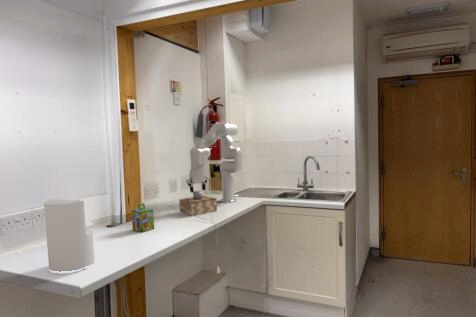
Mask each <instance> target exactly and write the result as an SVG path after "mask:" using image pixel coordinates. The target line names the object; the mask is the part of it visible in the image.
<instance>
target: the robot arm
mask: <svg viewBox="0 0 476 317" xmlns="http://www.w3.org/2000/svg"><path fill="white" fill-rule="evenodd" d="M238 131H239V128H238V126H237V125H236V124H232V123H227V122H226V123H224V122H223V123H214V124H212V125H211V127H210V128H209V130H208V132H207V134H206V135H205V136H203V137H202V138H200V139H199V140H197V141H196V142H195V143H194V145H193V146H192V148H191V149H190V151H189V158H190V169H189V174H188V175H189V177H188V179H187V180H186V181H185V182H186V185H187V186H189V192H190V193H193V192H194V191H195V190H194V185H195V184H201V191H206V189H207V188H206V185H207V183H208V180H209V178H208V177H207V176H205V171H204V169H203V168H204V167H203V166H204V164H203V163H202V162H203V161H202V160H203V159H207V158H209V157H210V156H211V150H210V148H208V147H210V146H212V145H214V144H215V143H216V142H217V141H218V139H219V138H220V139H221V142H222V143H221V144H222V146H221V147H222V148H221V149H222V150H221V152H222V153H221V156H222V159H224V161H221V163H220V164H219V170H220V177H221V195H222V198H221V199H220V202H221V203H232V202H237V198H239V197H240V195H239V194H235V181H234V180H235V178H234V176H233V174H240V173H241V172H242V167H243V153H242V149H241V148H240V147H238V146H234V139H233V138H232V136H233V137H234V136H236V135H237V134H238Z"/></svg>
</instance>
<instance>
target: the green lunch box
mask: <svg viewBox="0 0 476 317" xmlns="http://www.w3.org/2000/svg"><path fill="white" fill-rule="evenodd" d="M141 207H142V208H141ZM130 212H131V227H132V231H133V232H141V233H144V232H148V231H150V230H151V231H152V230H155V216H154V214H155V212H154V209H151V208H147V207H146V206H145V203H140V204H137V209H132V210H130Z"/></svg>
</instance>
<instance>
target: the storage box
mask: <svg viewBox="0 0 476 317" xmlns="http://www.w3.org/2000/svg"><path fill="white" fill-rule="evenodd" d="M178 201H179V200H178ZM178 203H179V213H181V214H184V215H188V216H191V217H194V216H199V215H200V216H201V215H205V214H210V213H213V212H217V211H218V206H217V205H218V204H217V199H216V200H211V201H206V202H200V203H195V204H190V203H186V202H182V201H179V202H178Z"/></svg>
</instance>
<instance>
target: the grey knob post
mask: <svg viewBox="0 0 476 317" xmlns="http://www.w3.org/2000/svg"><path fill="white" fill-rule="evenodd" d="M202 191H203V190H194V192H193V194H192V197H193V199H195V200H198V199H202V195H203V192H202Z"/></svg>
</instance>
